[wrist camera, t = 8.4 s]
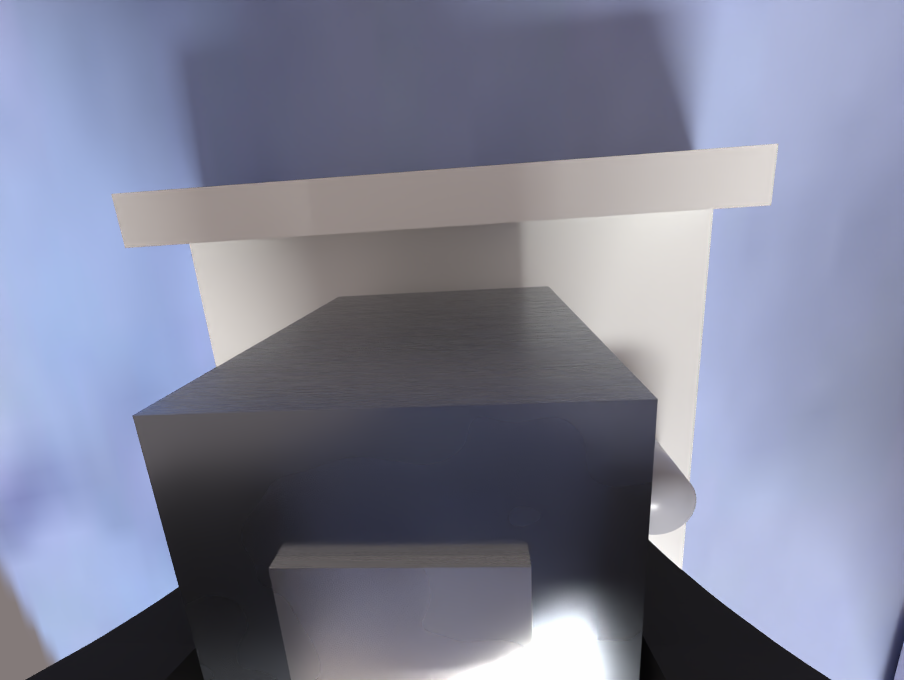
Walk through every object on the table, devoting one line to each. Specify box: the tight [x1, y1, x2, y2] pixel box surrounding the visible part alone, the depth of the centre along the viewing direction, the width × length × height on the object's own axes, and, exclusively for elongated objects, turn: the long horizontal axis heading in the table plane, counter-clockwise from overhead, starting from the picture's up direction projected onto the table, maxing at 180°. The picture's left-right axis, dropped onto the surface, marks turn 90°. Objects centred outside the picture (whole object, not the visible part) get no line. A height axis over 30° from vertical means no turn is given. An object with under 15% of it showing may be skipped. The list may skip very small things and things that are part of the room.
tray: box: [112, 144, 778, 570], centre depth 11 cm, size 12×14×3 cm
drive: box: [133, 286, 658, 680], centre depth 8 cm, size 4×9×6 cm, turn 4°
